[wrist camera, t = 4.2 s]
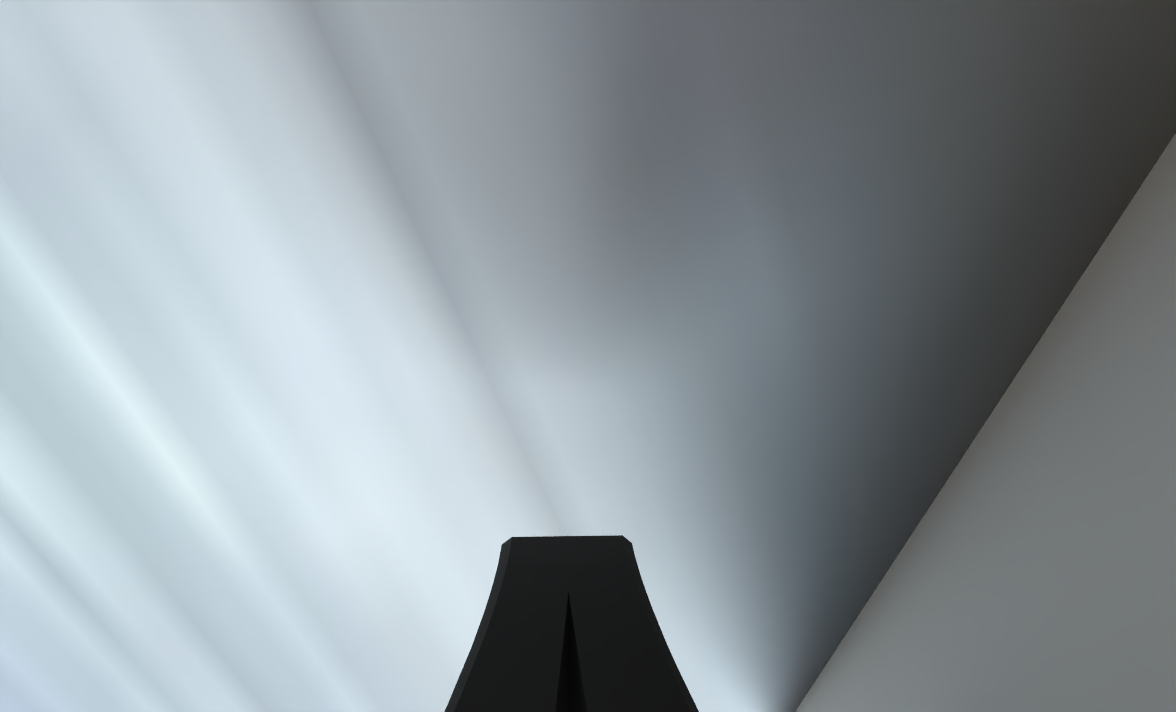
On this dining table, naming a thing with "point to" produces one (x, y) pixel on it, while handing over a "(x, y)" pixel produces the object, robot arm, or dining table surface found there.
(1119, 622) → the white zipper pouch
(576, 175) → the dining table surface
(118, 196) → the dining table surface
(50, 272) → the dining table surface
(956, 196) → the dining table surface
